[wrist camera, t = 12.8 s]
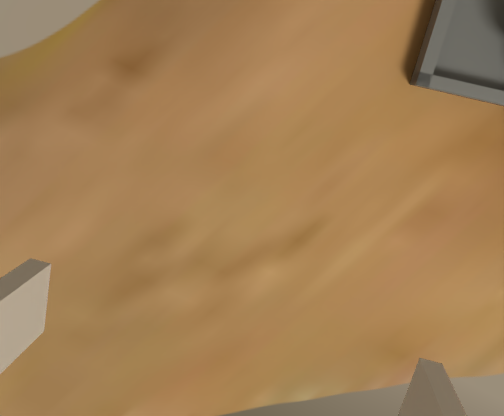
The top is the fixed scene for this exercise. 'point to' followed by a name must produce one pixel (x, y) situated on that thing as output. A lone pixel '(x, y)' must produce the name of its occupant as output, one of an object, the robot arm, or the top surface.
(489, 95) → the tray
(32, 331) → the robot arm
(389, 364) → the top surface
